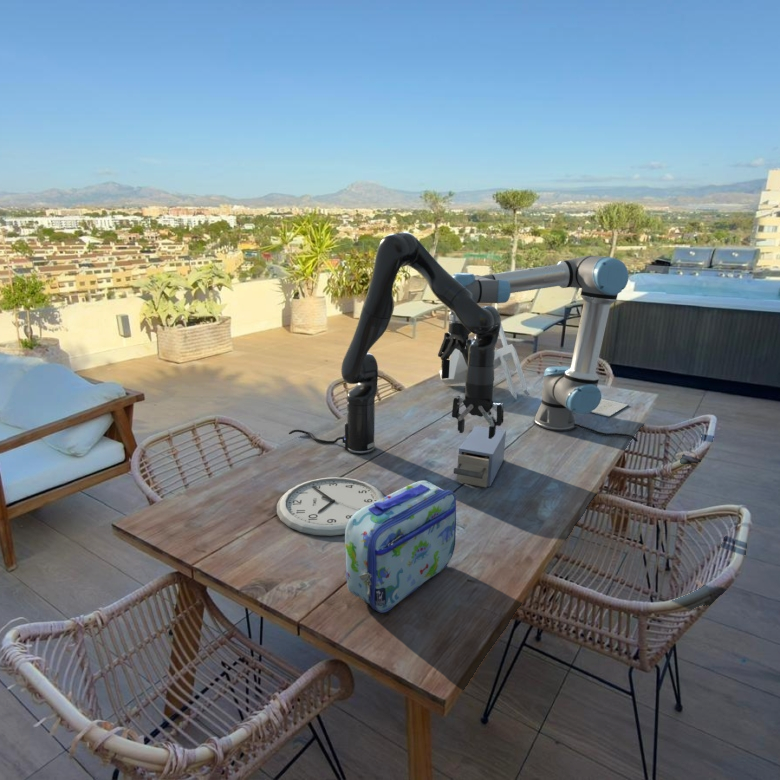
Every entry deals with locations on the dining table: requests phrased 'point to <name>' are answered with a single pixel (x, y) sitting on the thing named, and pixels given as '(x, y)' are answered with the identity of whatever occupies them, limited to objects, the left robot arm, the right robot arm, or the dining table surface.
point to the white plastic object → (501, 356)
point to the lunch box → (399, 543)
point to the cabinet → (486, 448)
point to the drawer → (472, 469)
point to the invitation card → (608, 407)
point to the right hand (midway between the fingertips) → (456, 383)
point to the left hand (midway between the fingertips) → (476, 435)
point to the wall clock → (325, 504)
